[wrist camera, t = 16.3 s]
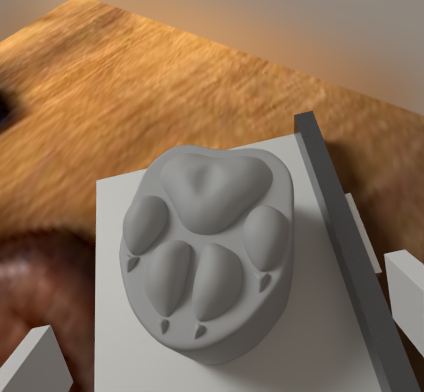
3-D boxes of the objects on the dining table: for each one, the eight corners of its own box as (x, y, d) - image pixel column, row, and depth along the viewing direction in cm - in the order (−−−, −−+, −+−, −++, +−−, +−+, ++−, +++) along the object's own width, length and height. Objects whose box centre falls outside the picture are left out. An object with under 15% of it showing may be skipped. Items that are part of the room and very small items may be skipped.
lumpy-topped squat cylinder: (299, 201, 30) (302, 134, 22) (282, 379, 24) (278, 368, 17) (177, 191, 32) (142, 127, 25) (134, 349, 27) (73, 328, 19)
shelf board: (101, 467, 25) (93, 470, 24) (102, 187, 36) (96, 180, 35) (411, 415, 23) (417, 415, 22) (310, 138, 34) (311, 129, 33)
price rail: (391, 420, 22) (402, 422, 20) (294, 133, 33) (294, 115, 31) (425, 414, 22) (440, 415, 20) (316, 128, 33) (318, 109, 31)
